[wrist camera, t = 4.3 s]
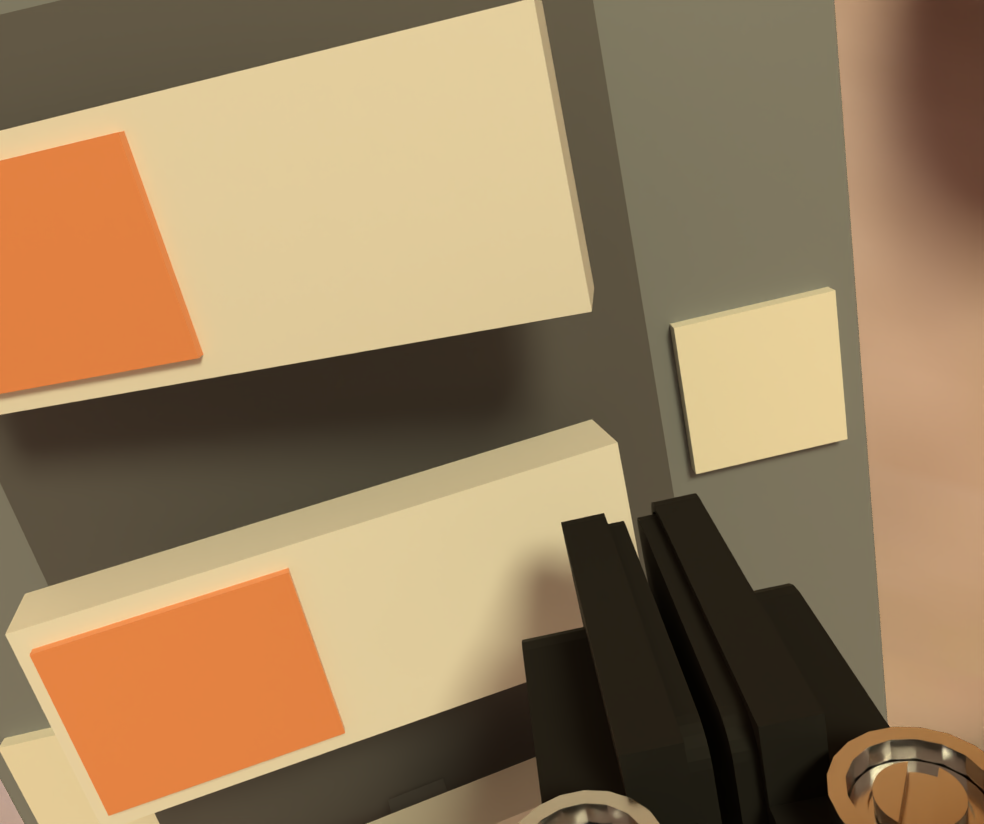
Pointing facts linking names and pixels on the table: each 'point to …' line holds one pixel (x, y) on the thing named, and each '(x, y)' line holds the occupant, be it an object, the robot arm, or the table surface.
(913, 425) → the table surface
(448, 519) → the rocker middle
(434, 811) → the rocker
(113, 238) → the block
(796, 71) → the switch panel
